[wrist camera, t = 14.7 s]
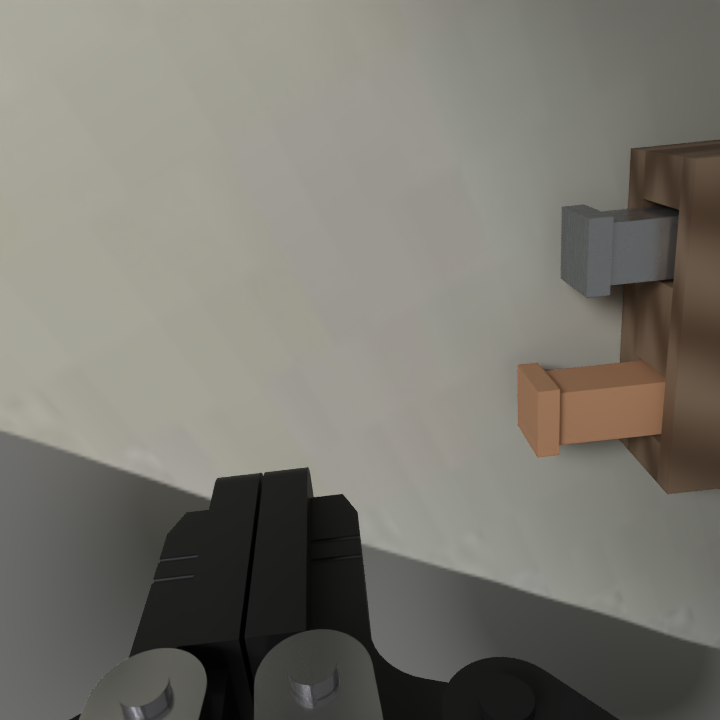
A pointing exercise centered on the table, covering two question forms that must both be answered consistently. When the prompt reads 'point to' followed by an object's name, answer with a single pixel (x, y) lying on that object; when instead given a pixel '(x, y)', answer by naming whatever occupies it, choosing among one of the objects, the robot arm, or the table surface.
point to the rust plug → (588, 404)
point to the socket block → (680, 316)
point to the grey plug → (617, 247)
